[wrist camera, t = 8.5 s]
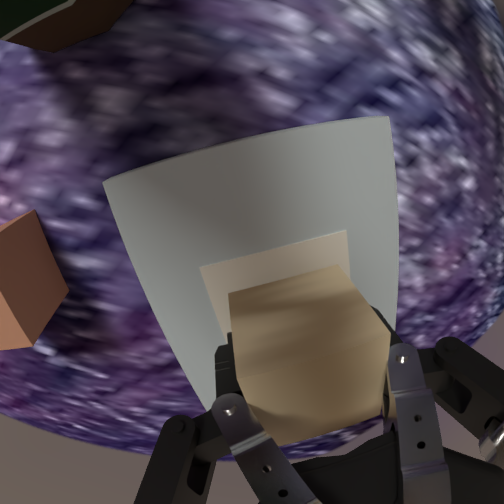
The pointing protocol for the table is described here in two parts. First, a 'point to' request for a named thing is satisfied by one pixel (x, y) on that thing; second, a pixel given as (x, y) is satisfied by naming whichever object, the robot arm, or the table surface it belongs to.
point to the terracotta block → (26, 282)
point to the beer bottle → (56, 21)
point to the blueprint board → (258, 226)
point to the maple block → (308, 354)
